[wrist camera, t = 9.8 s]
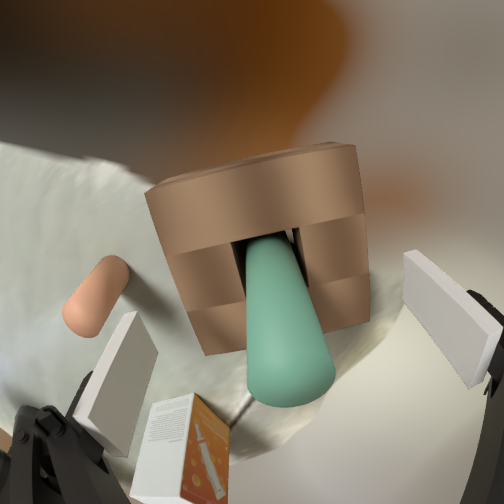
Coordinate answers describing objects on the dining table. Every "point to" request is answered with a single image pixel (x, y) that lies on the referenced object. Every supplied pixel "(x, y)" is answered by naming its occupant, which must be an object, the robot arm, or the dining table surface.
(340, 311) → the collar block
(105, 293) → the short dowel
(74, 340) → the dining table surface
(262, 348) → the long dowel
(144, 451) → the small box
